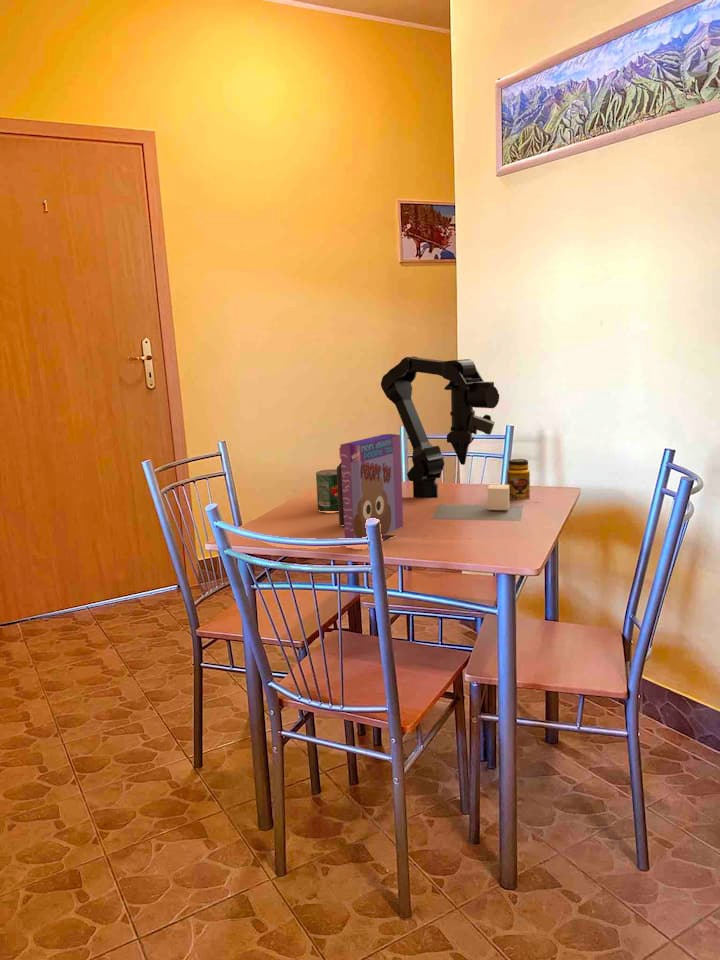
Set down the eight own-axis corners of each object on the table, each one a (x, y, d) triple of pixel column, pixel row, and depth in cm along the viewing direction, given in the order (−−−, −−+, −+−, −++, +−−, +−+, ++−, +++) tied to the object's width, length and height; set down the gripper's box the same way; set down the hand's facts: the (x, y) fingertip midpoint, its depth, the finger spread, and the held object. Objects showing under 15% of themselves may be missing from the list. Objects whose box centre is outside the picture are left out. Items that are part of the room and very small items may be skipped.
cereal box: (362, 550, 159) (357, 444, 154) (345, 547, 162) (340, 443, 157) (403, 532, 173) (400, 434, 168) (386, 529, 176) (383, 433, 171)
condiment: (517, 506, 194) (517, 463, 192) (496, 501, 201) (496, 459, 199) (537, 502, 198) (537, 460, 195) (515, 497, 205) (515, 456, 202)
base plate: (431, 524, 179) (431, 518, 178) (440, 509, 194) (440, 504, 194) (520, 526, 173) (520, 520, 173) (522, 511, 188) (522, 505, 188)
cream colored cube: (487, 509, 183) (487, 488, 182) (489, 505, 188) (489, 484, 187) (508, 510, 182) (508, 488, 181) (509, 505, 186) (509, 484, 185)
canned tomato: (320, 507, 203) (318, 469, 201) (347, 506, 202) (345, 468, 200) (315, 514, 195) (313, 474, 193) (344, 513, 194) (342, 474, 192)
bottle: (369, 521, 184) (365, 445, 180) (361, 528, 178) (358, 449, 174) (344, 521, 186) (340, 445, 182) (335, 527, 180) (331, 449, 176)
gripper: (489, 409, 179) (490, 470, 182) (494, 403, 197) (495, 458, 200) (445, 410, 182) (447, 470, 185) (454, 404, 200) (455, 458, 203)
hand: (462, 464), depth 193 cm, fingers closed
